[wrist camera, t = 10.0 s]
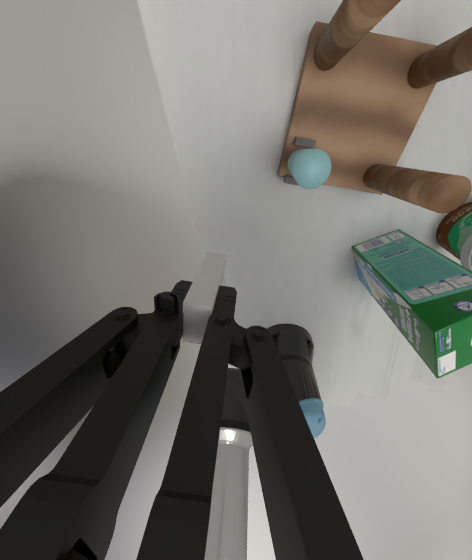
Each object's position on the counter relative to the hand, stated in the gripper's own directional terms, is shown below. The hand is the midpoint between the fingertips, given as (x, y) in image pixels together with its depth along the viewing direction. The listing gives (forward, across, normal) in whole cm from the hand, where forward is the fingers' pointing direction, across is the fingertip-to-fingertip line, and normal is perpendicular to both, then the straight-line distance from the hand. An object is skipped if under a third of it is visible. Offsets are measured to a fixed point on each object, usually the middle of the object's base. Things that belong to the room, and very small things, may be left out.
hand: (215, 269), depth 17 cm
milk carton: (+30, -31, +7) cm, 44 cm away
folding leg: (+24, -9, -8) cm, 27 cm away
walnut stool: (+29, -16, -15) cm, 36 cm away
